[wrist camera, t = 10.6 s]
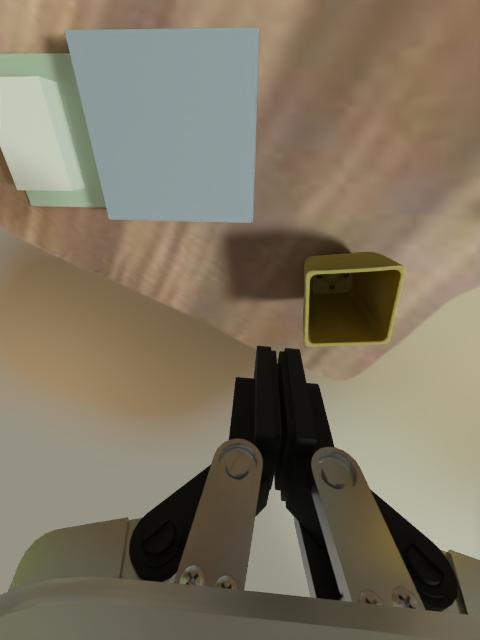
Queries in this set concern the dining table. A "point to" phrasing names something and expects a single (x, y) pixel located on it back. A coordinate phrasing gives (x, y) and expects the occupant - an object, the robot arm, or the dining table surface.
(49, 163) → the white rectangular block
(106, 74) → the plate
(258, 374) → the robot arm
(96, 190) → the mat
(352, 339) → the flower pot
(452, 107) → the dining table surface
